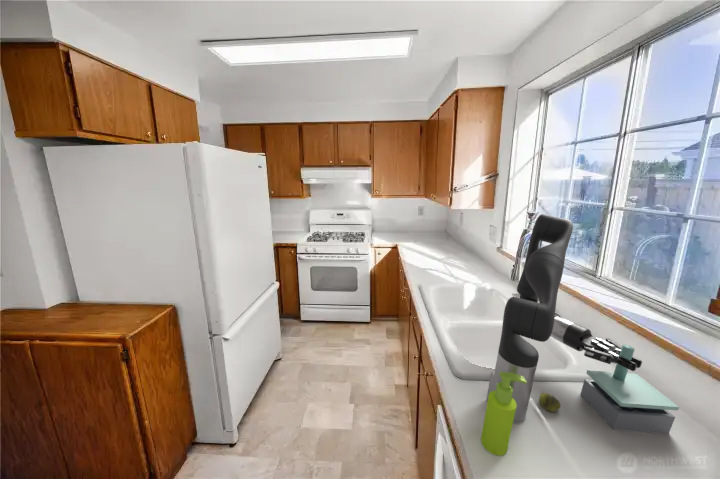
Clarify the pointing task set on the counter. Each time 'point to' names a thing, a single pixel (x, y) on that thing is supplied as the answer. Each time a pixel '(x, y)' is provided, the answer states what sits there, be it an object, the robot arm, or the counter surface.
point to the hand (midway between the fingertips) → (638, 366)
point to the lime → (549, 402)
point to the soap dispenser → (500, 415)
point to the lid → (630, 387)
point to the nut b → (628, 408)
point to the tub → (626, 412)
